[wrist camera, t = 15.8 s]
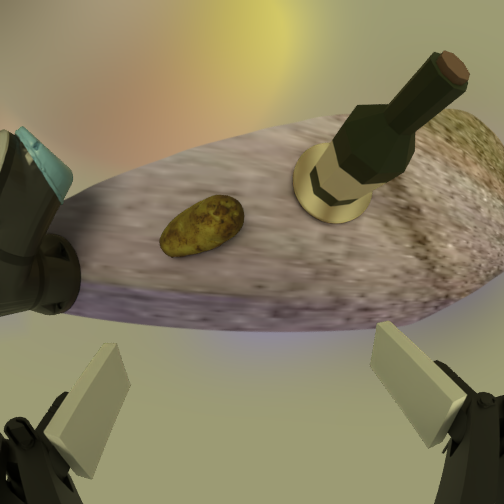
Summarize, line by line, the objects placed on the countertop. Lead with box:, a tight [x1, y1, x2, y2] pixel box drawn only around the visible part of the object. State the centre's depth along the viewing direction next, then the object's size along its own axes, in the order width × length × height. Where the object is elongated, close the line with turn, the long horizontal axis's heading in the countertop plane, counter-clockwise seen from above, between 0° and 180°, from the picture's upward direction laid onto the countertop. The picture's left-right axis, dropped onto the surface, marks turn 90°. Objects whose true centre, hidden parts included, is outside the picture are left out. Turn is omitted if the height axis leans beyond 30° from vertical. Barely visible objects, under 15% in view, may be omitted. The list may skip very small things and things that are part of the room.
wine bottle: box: [310, 51, 470, 207], centre depth 26 cm, size 8×8×30 cm
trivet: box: [293, 143, 373, 224], centre depth 42 cm, size 13×13×3 cm
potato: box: [159, 195, 244, 258], centre depth 39 cm, size 8×13×8 cm, turn 94°
